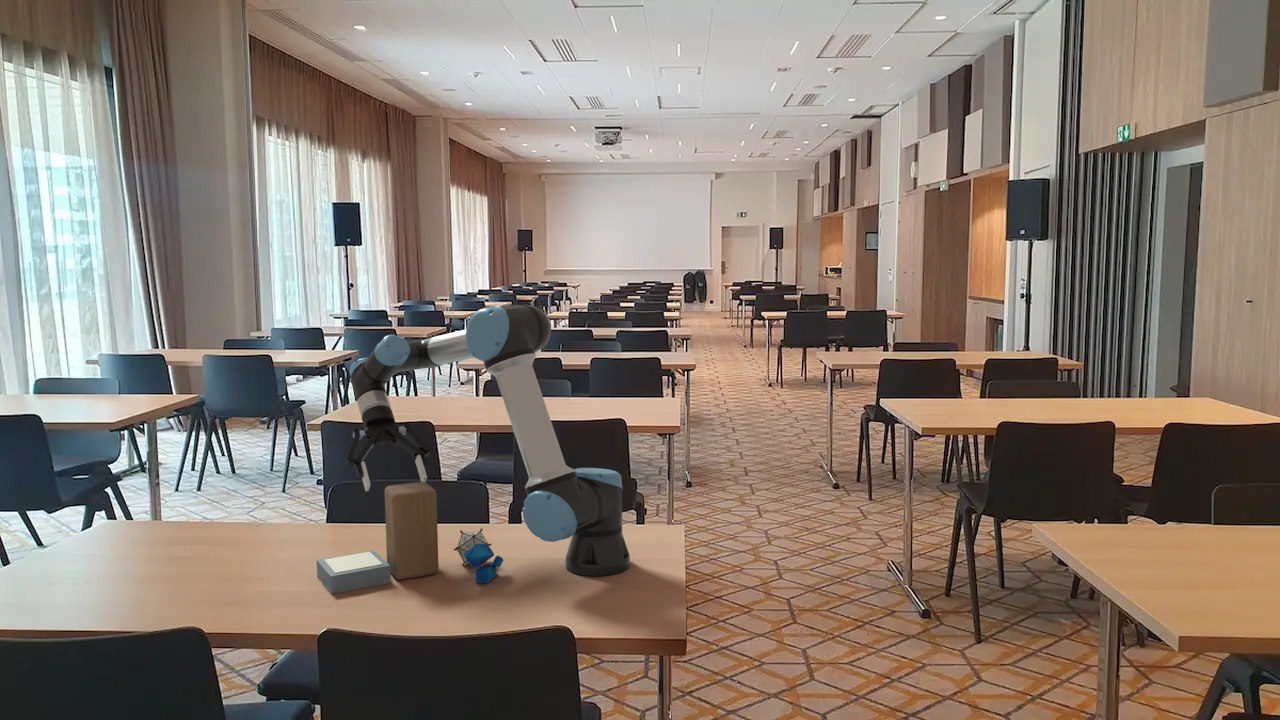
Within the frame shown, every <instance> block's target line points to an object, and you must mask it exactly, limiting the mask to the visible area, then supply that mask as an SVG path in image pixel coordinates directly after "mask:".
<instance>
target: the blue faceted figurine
mask: <svg viewBox="0 0 1280 720" xmlns="http://www.w3.org/2000/svg"><path fill="white" fill-rule="evenodd" d="M488 544H489V543H488ZM488 544H476V545H474V546H473V547H472V548H471V549H469V550H468V551H467V552H466V553H464V557H465V558H466V560H467V561H468V563H467V564H469V566H470V568H472V569H474V568H476V569H475V582H476V583H477V582H478V583H480V584H488V583H489V582H490V581H491V580H492V579H493V578H494V577H495V576H496V575H497V567H498V568H500V567H501V566H502V564H503V562H504V558H503V557H501V556H500V555H496V556H495V552H494V551H493V550H492V548H491V546H488ZM494 556H495V557H494ZM493 557H494V560H493V562H492V563H486V562H488V561H489V560H491V558H493ZM484 563H485V564H484ZM483 564H484V565H483ZM481 565H482V566H481ZM479 566H480V567H479ZM477 567H478V568H477Z"/></svg>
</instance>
